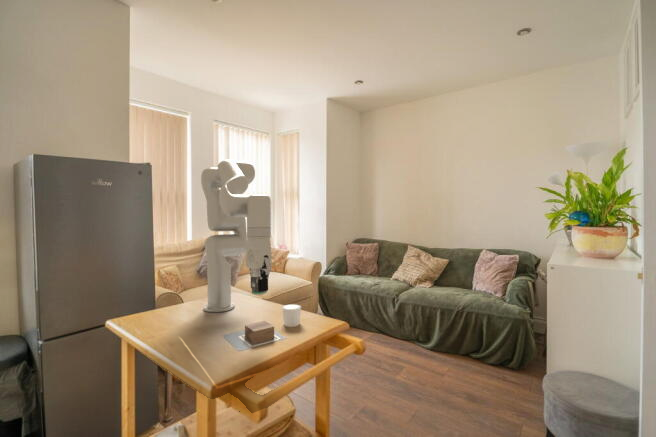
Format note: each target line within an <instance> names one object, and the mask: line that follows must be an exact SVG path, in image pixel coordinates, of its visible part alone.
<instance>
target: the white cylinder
mask: <svg viewBox="0 0 656 437" xmlns="http://www.w3.org/2000/svg"><path fill="white" fill-rule="evenodd" d="M281 308H282V318H283V321H282V322H283V326H285V327H288V328H291V327H293V328H294V327H298V326H300V325H301V323H300V322H301V312H302V311H301V310H302V306H301V305H300V304H297V303H296V304H295V303H290V304H285V305H283V306H282V307H281Z"/></svg>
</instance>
